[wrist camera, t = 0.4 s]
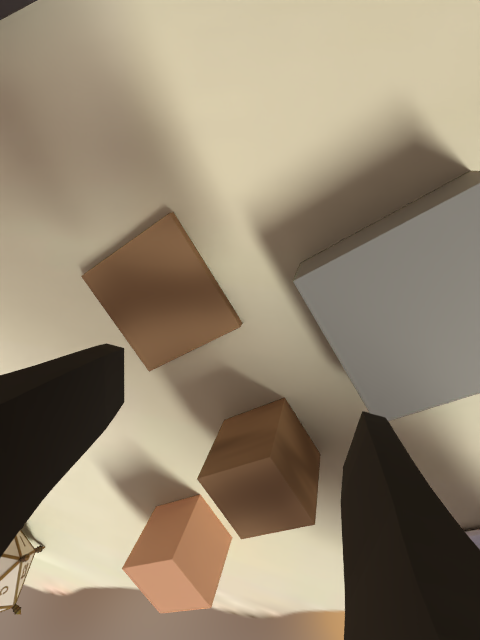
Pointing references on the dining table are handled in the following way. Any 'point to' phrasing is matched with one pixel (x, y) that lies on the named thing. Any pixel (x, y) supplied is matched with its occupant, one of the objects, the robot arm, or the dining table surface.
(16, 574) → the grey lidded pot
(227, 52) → the dining table surface
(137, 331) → the tile
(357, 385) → the base block
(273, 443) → the walnut block
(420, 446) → the dining table surface
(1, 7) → the black and red box
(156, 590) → the terracotta block
